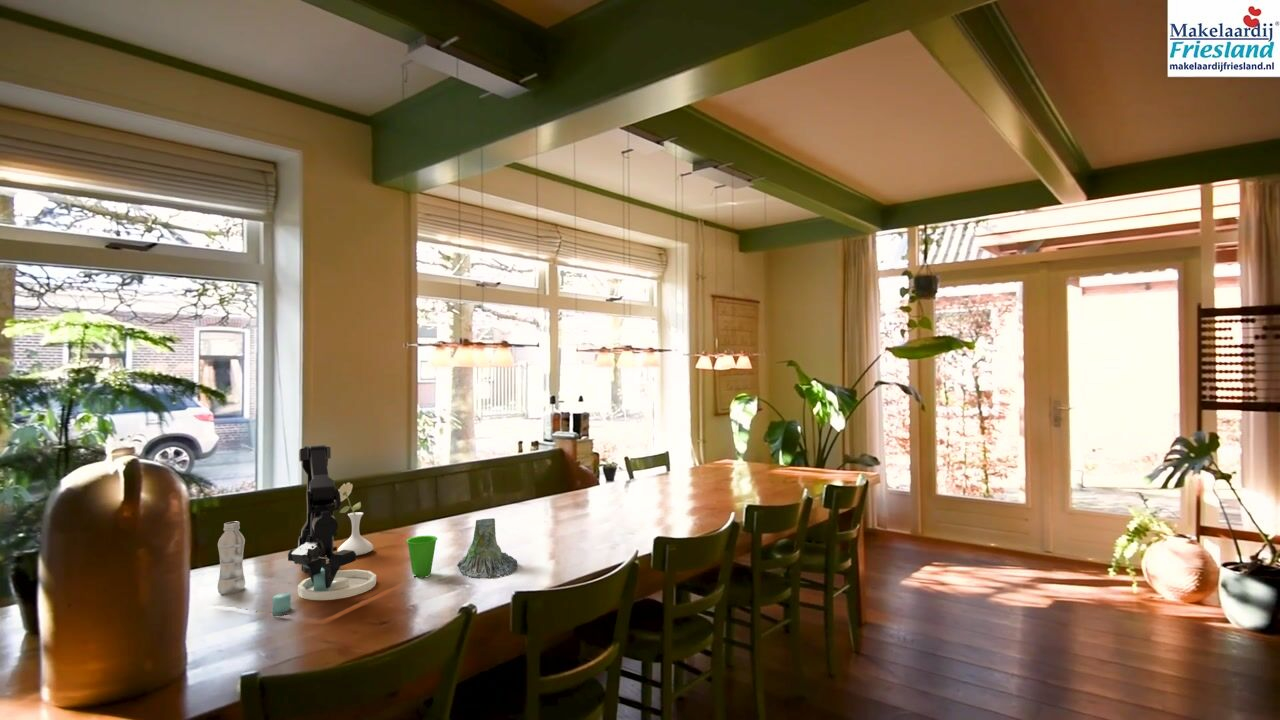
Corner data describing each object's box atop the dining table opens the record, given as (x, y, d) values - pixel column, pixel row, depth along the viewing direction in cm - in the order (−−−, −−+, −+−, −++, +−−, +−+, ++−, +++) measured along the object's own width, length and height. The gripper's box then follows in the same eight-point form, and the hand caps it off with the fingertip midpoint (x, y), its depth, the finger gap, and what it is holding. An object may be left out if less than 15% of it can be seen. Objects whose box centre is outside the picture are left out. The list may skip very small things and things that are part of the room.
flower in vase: (361, 547, 226) (362, 477, 227) (380, 552, 220) (380, 480, 220) (325, 556, 216) (326, 482, 216) (343, 562, 209) (344, 485, 210)
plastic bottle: (250, 591, 181) (251, 521, 182) (228, 599, 175) (229, 526, 175) (234, 589, 183) (234, 519, 184) (211, 596, 177) (212, 524, 178)
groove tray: (281, 599, 175) (281, 588, 175) (336, 576, 194) (336, 567, 194) (339, 607, 169) (339, 595, 169) (390, 583, 188) (390, 573, 188)
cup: (427, 580, 190) (427, 543, 190) (400, 579, 191) (400, 542, 192) (442, 571, 198) (442, 536, 199) (416, 570, 200) (416, 534, 200)
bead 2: (321, 587, 178) (321, 571, 178) (333, 589, 177) (333, 572, 177) (310, 592, 174) (310, 575, 175) (321, 593, 173) (321, 577, 173)
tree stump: (460, 584, 188) (456, 522, 192) (456, 580, 206) (452, 524, 210) (522, 573, 195) (516, 513, 199) (512, 571, 213) (507, 516, 217)
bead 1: (269, 615, 163) (269, 597, 163) (282, 610, 167) (282, 592, 167) (281, 617, 162) (281, 599, 162) (294, 611, 166) (294, 594, 166)
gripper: (271, 534, 171) (270, 593, 171) (326, 540, 166) (325, 600, 165) (304, 525, 182) (304, 580, 182) (357, 530, 176) (357, 586, 176)
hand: (321, 586), depth 176 cm, fingers closed on bead 2, 4 cm apart
